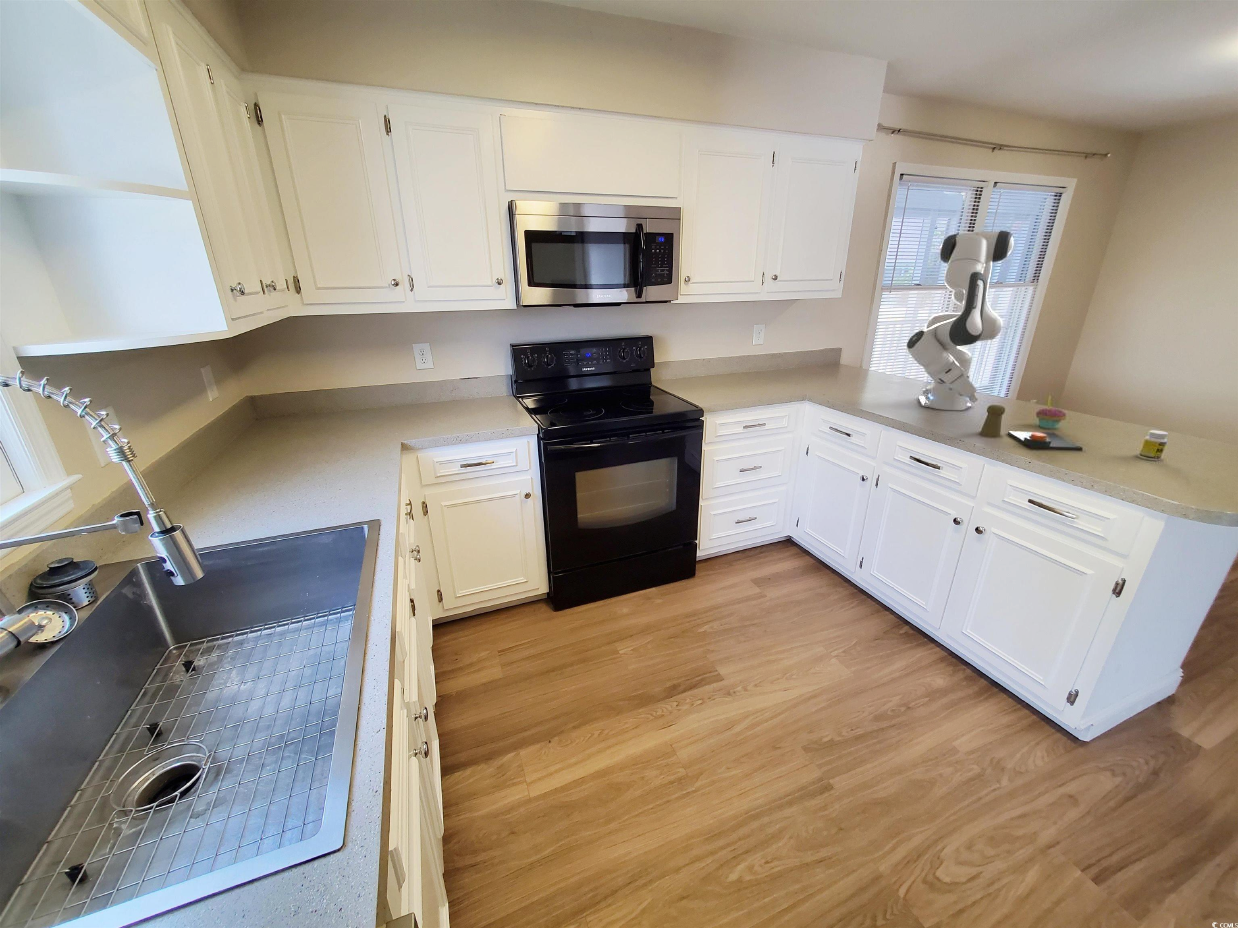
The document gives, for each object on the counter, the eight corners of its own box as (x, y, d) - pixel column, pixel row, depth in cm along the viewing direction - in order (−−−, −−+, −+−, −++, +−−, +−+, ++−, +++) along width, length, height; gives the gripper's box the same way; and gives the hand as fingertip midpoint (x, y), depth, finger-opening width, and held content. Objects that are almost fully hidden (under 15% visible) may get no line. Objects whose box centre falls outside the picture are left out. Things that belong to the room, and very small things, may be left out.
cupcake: (1031, 427, 183) (1040, 396, 179) (1034, 422, 189) (1042, 391, 185) (1061, 431, 178) (1071, 399, 173) (1063, 426, 183) (1072, 394, 179)
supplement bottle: (1155, 461, 149) (1165, 435, 146) (1134, 457, 153) (1144, 431, 150) (1163, 459, 151) (1173, 432, 148) (1143, 454, 155) (1152, 428, 152)
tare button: (1027, 437, 166) (1028, 432, 165) (1041, 437, 165) (1042, 432, 165) (1034, 440, 162) (1035, 435, 162) (1048, 441, 162) (1049, 436, 161)
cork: (1003, 437, 174) (1011, 407, 170) (984, 437, 175) (991, 407, 171) (995, 432, 180) (1002, 403, 176) (976, 432, 181) (983, 403, 177)
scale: (1004, 434, 177) (1006, 426, 176) (1052, 435, 174) (1054, 427, 173) (1029, 449, 162) (1031, 441, 161) (1082, 451, 159) (1085, 442, 158)
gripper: (925, 371, 184) (949, 397, 185) (946, 382, 165) (973, 411, 167) (940, 358, 181) (964, 385, 183) (964, 369, 163) (991, 398, 164)
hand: (969, 397), depth 174 cm, fingers open, 8 cm apart
